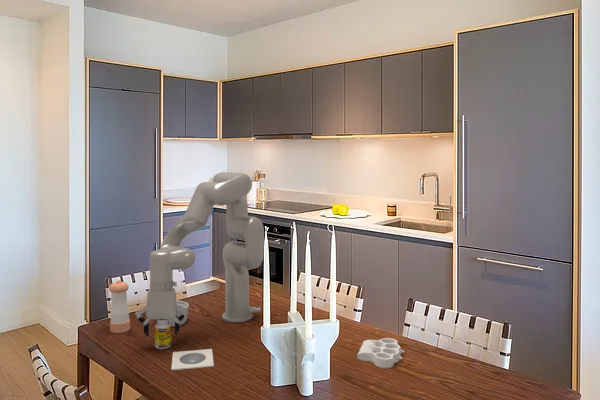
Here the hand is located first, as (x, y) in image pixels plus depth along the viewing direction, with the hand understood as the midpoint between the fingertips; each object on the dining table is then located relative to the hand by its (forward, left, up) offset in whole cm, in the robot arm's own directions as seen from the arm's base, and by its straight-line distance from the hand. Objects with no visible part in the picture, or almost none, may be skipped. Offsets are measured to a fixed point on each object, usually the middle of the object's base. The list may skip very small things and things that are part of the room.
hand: (161, 334), depth 166 cm
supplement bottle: (0, 0, -5) cm, 5 cm away
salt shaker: (+17, -20, -5) cm, 27 cm away
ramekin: (-2, -24, -5) cm, 25 cm away
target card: (-10, +13, -5) cm, 17 cm away
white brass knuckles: (-72, +23, -5) cm, 76 cm away
